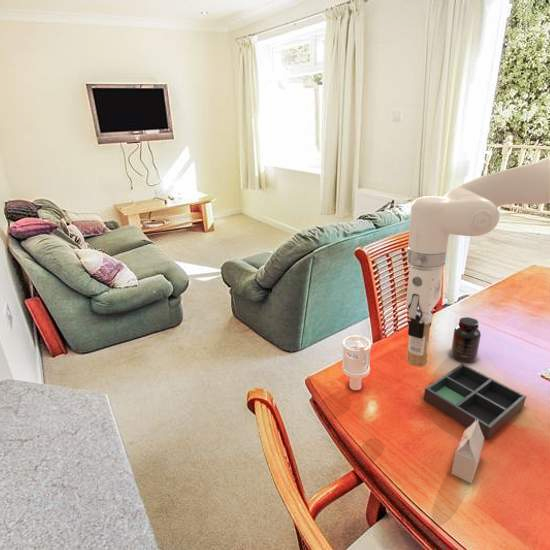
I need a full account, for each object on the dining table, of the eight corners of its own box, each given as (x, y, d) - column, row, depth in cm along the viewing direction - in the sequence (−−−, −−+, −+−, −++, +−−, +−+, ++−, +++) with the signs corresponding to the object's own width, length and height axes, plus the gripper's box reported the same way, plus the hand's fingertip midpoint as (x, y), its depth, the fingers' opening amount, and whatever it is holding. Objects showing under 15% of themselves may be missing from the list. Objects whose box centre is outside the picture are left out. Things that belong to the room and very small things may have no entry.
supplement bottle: (451, 347, 114) (456, 313, 109) (476, 352, 111) (483, 317, 106) (449, 360, 108) (455, 324, 103) (476, 365, 105) (483, 329, 100)
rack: (523, 407, 90) (526, 396, 89) (487, 439, 82) (490, 427, 81) (460, 373, 102) (462, 363, 101) (423, 399, 94) (425, 388, 93)
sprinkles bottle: (430, 362, 88) (436, 312, 83) (418, 370, 86) (423, 319, 81) (414, 353, 92) (418, 305, 87) (402, 361, 90) (406, 311, 84)
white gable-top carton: (479, 459, 78) (487, 423, 74) (471, 483, 73) (479, 445, 69) (460, 451, 80) (467, 415, 76) (451, 473, 75) (458, 436, 71)
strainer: (347, 397, 97) (348, 348, 91) (338, 379, 103) (339, 333, 97) (373, 393, 97) (375, 344, 91) (363, 376, 104) (365, 329, 98)
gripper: (432, 274, 70) (424, 354, 77) (456, 247, 82) (447, 319, 89) (393, 267, 75) (389, 344, 82) (421, 242, 87) (415, 311, 94)
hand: (419, 330), depth 86 cm, fingers closed on sprinkles bottle, 4 cm apart
